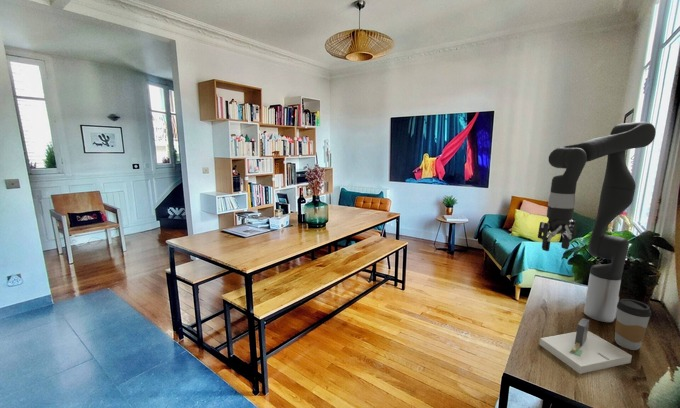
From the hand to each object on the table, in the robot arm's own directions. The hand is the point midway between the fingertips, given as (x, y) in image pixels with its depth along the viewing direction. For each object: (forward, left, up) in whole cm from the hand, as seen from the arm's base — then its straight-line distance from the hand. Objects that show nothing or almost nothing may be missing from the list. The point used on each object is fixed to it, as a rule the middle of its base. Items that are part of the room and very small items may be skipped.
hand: (555, 249), depth 110 cm
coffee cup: (-17, +16, -30) cm, 38 cm away
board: (+2, +16, -30) cm, 34 cm away
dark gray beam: (+3, +15, -27) cm, 31 cm away
